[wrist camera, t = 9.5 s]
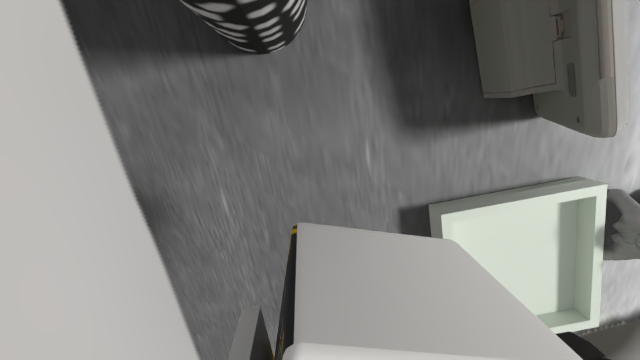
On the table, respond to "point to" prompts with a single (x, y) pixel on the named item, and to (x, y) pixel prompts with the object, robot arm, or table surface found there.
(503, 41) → the digital clock
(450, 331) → the medicine bottle
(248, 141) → the table surface
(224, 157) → the table surface
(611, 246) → the elephant statuette
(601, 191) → the tray
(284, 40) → the spotted tube
